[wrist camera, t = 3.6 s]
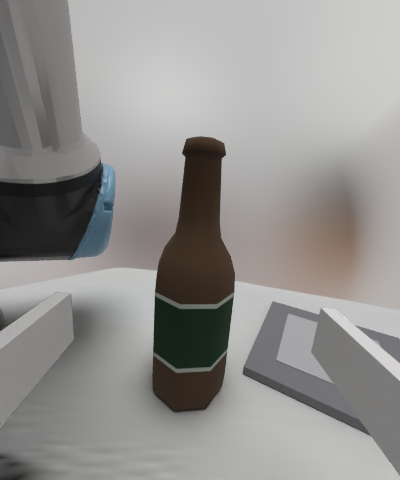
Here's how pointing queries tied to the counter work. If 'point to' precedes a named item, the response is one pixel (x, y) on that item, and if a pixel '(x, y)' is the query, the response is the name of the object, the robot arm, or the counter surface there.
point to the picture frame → (303, 361)
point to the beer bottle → (194, 288)
